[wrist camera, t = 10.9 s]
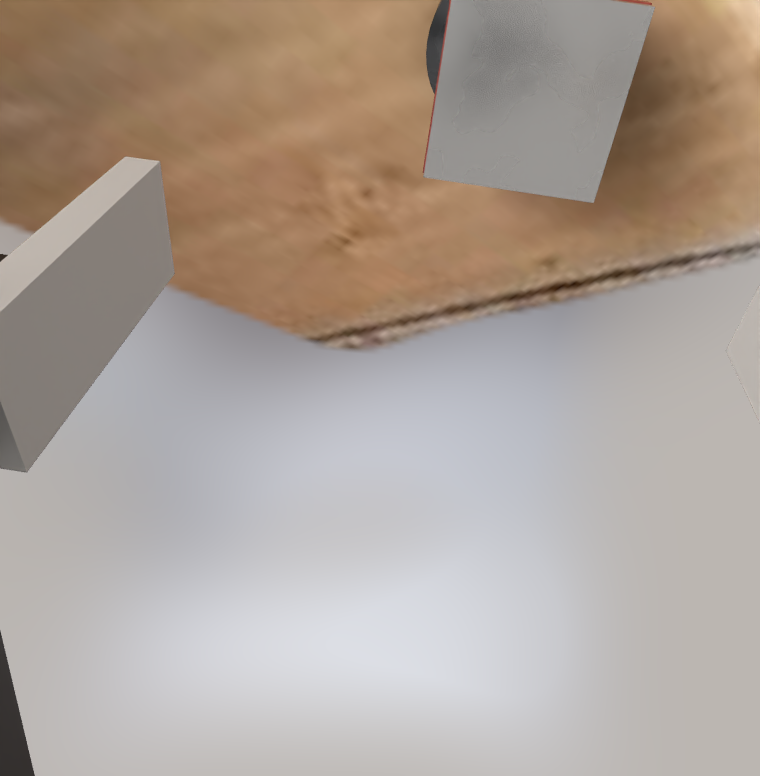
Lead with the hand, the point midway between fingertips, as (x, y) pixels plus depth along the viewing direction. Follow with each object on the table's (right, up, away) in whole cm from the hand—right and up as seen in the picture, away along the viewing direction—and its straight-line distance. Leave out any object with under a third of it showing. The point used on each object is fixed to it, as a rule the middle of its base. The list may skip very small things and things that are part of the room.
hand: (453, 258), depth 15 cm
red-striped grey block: (+4, +13, +16) cm, 21 cm away
